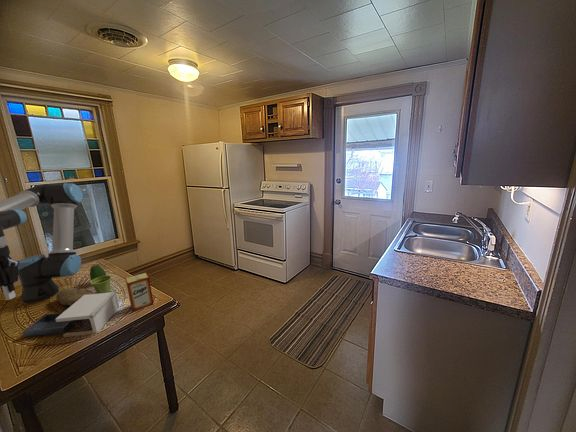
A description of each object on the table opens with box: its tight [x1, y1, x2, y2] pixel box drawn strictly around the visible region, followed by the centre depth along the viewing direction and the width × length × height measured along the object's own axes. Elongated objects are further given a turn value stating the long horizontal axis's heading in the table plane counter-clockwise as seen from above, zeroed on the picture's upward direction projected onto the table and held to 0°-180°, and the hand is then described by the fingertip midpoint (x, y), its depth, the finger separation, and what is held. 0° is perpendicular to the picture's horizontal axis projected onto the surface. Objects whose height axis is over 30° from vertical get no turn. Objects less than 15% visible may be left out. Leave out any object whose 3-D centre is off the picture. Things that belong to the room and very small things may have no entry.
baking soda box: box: [125, 272, 155, 312], centre depth 125 cm, size 10×6×16 cm
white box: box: [56, 291, 120, 338], centre depth 113 cm, size 14×19×9 cm
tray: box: [22, 312, 80, 339], centre depth 111 cm, size 16×12×3 cm
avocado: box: [89, 264, 107, 281], centre depth 149 cm, size 8×8×12 cm
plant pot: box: [90, 275, 112, 294], centre depth 137 cm, size 9×9×9 cm
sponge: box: [56, 287, 95, 306], centre depth 130 cm, size 13×8×20 cm
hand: (11, 298), depth 105 cm, fingers closed
